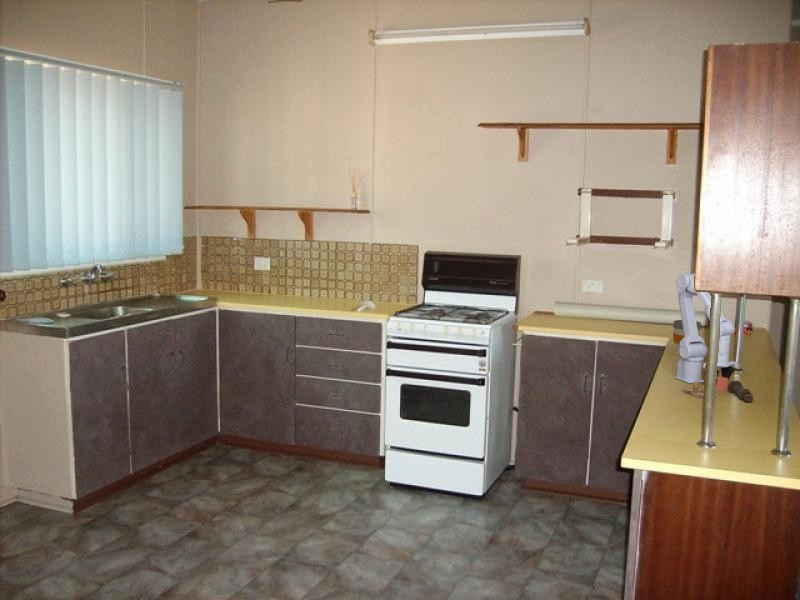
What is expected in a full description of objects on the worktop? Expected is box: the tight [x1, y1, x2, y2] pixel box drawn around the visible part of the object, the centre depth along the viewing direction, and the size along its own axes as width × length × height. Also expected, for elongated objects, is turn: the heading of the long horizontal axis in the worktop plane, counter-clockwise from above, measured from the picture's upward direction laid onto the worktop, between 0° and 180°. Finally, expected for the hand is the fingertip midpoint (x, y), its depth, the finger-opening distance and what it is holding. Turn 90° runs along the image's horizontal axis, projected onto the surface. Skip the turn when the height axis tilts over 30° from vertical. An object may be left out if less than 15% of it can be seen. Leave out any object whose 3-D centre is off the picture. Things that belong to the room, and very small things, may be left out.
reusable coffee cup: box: [672, 319, 702, 353], centre depth 379 cm, size 13×13×15 cm
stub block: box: [681, 382, 718, 399], centre depth 303 cm, size 10×8×4 cm
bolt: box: [727, 380, 754, 403], centre depth 300 cm, size 6×5×15 cm
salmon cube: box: [715, 375, 729, 392], centre depth 311 cm, size 5×5×5 cm
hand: (718, 385), depth 311 cm, fingers closed on salmon cube, 5 cm apart
